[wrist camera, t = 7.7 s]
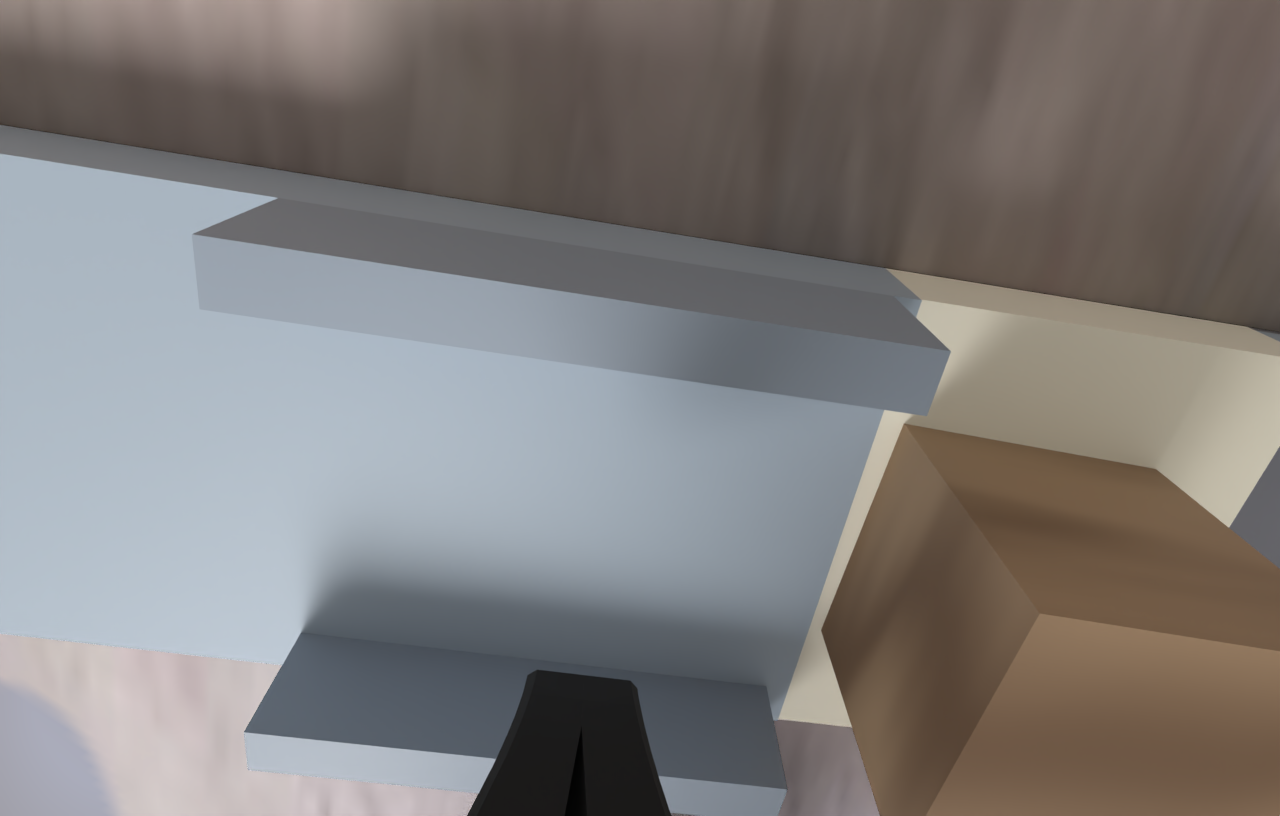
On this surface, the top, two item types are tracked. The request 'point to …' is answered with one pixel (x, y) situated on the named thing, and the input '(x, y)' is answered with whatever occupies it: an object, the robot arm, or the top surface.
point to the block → (1054, 640)
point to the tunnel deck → (514, 450)
